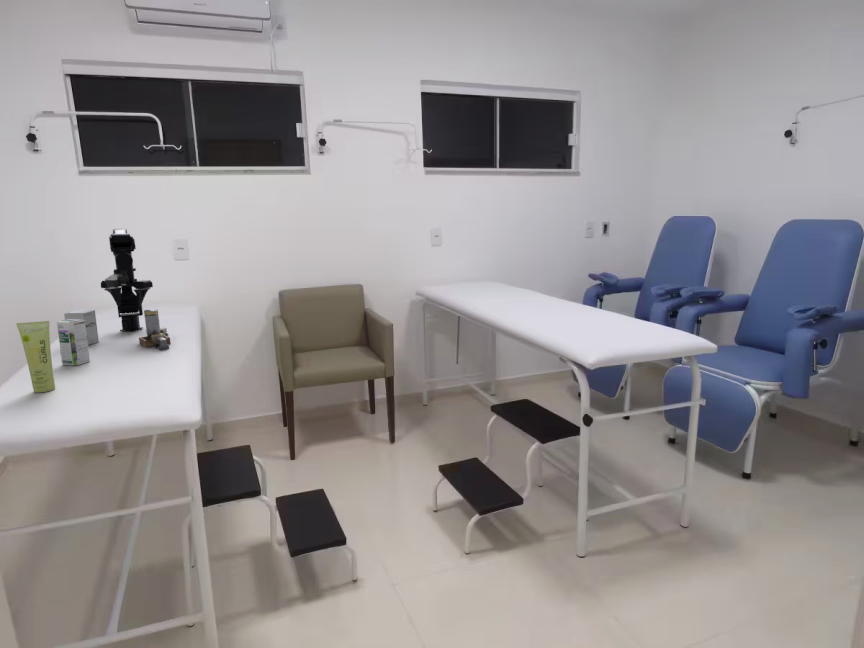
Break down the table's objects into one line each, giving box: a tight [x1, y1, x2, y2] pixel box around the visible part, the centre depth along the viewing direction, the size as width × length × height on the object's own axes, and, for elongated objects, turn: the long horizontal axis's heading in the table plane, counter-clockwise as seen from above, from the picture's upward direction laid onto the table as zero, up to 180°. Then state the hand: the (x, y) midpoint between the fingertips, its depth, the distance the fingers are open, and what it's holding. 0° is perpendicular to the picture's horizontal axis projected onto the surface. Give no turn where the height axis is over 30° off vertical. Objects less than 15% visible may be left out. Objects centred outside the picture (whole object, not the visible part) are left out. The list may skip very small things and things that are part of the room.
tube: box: [15, 320, 56, 393], centre depth 148 cm, size 6×5×20 cm
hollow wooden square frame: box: [138, 334, 171, 348], centre depth 203 cm, size 9×9×2 cm
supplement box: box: [63, 309, 100, 346], centre depth 203 cm, size 7×7×13 cm
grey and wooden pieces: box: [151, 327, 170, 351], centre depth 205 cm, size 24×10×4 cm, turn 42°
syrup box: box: [56, 319, 91, 367], centre depth 176 cm, size 6×6×14 cm
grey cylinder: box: [143, 308, 161, 340], centre depth 202 cm, size 5×5×13 cm
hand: (129, 306), depth 211 cm, fingers open, 9 cm apart
